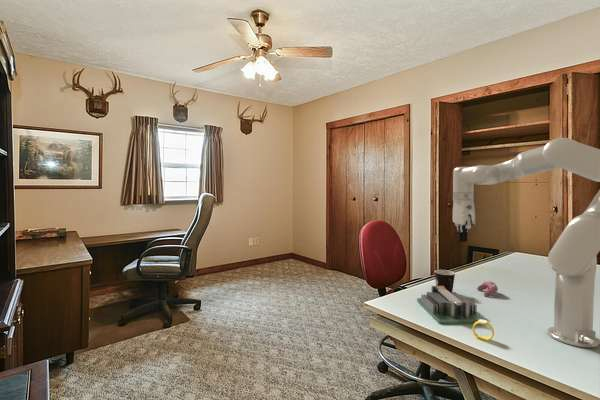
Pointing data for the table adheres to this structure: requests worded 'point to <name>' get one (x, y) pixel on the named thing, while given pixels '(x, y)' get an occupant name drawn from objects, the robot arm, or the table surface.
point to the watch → (483, 324)
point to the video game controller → (488, 288)
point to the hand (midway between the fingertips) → (462, 241)
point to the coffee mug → (445, 279)
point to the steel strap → (449, 296)
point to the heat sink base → (449, 308)
